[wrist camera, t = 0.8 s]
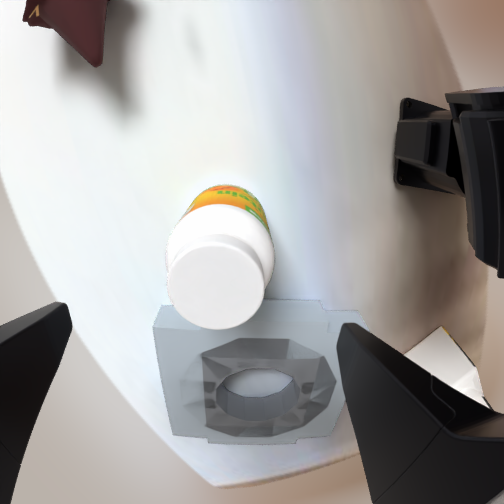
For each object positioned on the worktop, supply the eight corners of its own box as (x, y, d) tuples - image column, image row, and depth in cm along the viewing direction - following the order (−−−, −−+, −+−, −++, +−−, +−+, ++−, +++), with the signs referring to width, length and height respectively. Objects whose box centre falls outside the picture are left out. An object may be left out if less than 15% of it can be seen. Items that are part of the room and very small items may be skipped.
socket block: (360, 300, 24) (373, 320, 21) (322, 420, 30) (328, 440, 27) (160, 294, 23) (151, 315, 20) (177, 418, 29) (174, 440, 26)
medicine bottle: (455, 357, 28) (506, 429, 16) (406, 393, 29) (446, 473, 18) (441, 323, 25) (505, 404, 14) (385, 366, 27) (431, 460, 16)
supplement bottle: (280, 207, 21) (309, 267, 12) (240, 270, 22) (241, 359, 13) (210, 168, 20) (184, 198, 11) (174, 235, 21) (131, 308, 12)
